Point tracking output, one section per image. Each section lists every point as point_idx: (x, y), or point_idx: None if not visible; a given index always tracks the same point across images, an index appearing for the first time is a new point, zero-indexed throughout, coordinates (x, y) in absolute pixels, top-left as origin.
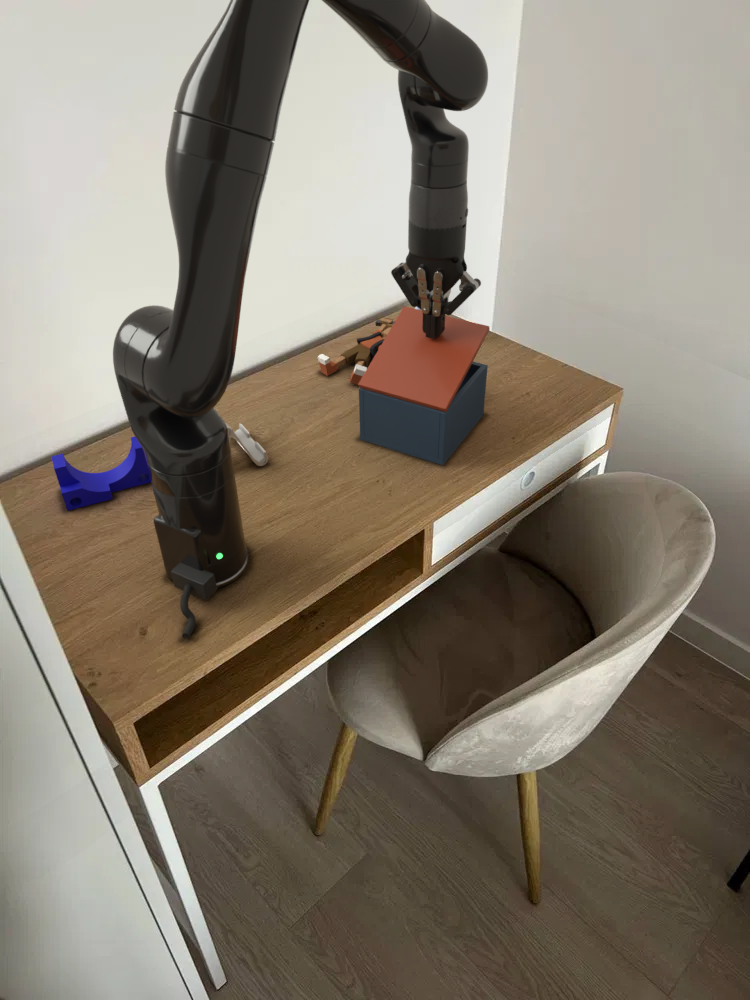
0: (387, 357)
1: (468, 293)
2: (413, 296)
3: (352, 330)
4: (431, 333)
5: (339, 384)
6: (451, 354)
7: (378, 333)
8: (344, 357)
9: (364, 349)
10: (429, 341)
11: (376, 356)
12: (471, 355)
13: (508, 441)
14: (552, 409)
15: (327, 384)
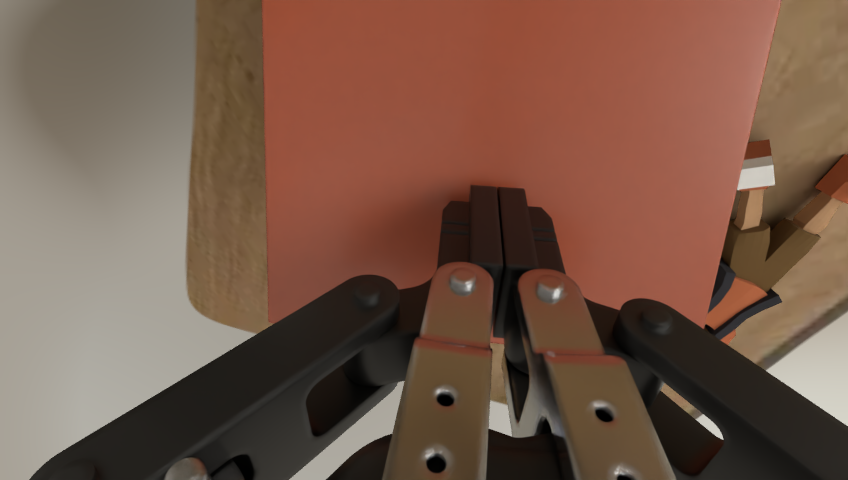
0: (698, 24)
1: (112, 443)
2: (677, 364)
3: (782, 346)
4: (490, 198)
5: (799, 128)
6: (367, 128)
7: (720, 333)
8: (806, 229)
9: (748, 272)
10: (502, 182)
11: (766, 15)
12: (273, 145)
13: (251, 56)
14: (242, 219)
15: (842, 114)
